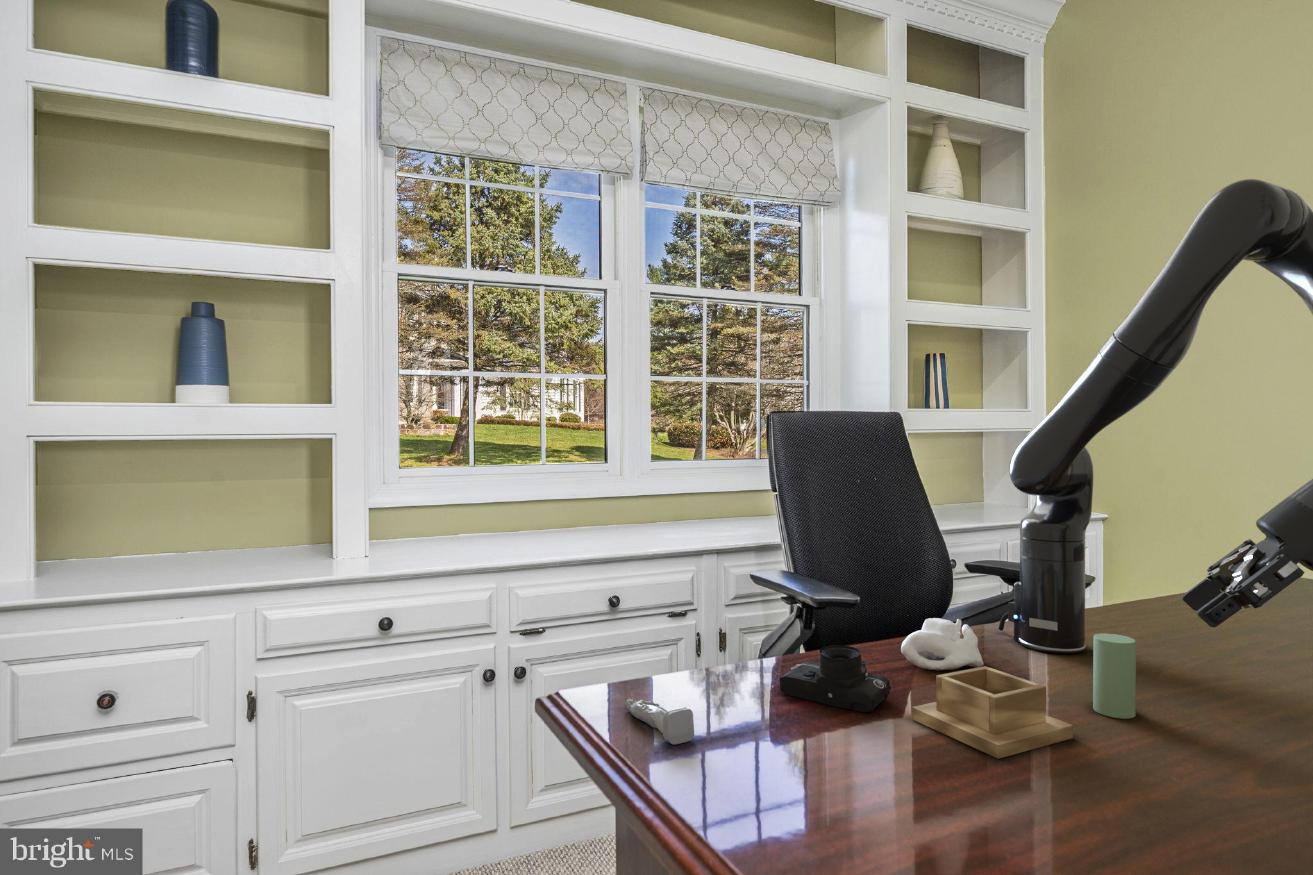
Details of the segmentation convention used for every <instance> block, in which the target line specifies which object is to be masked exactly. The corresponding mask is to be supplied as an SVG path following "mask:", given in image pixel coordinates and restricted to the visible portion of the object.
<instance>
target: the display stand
mask: <svg viewBox="0 0 1313 875" xmlns="http://www.w3.org/2000/svg"><path fill="white" fill-rule="evenodd" d="M935 678H936V679H935V684H936V685H935V701H934V702H933V701H932V702H928V703H924V704H919V705H915V706H912V707H911V720H912V721H915V722H916V723H919V724H921V725H924V726H926V727H928V728H930V729H932V730H934V731H937V732H939V733H941V734H943V735H945V736H948V737H950V738H952V739H954V740H956V741H958V742H960V743H963V744H965V745H967V746H969V747H971V748H973V749H975V750H978V751H980V752H982V753H985V754H987V755H989V756H991V757H993V758H994V759H998V760H999V759H1002V758H1006V757H1010V756H1014V755H1017V754H1021V753H1025V752H1028V751H1032V750H1035V749H1036V750H1037V749H1039V748H1042V747H1046V746H1050V745H1054V744H1057V743H1061V742H1064V741H1068V740H1072V739H1074V725H1073V724H1071V723H1068V722H1065V721H1063V720H1060V719H1057V718H1054V717H1052V716H1049V715H1047V686H1046V685H1043V684H1039V683H1037V682H1034V681H1032V680H1028V679H1025V678H1022V677H1018V676H1016V675H1013V674H1010V673H1007V672H1005V671H1001V670H998V669H995V668H993V667H990V666H986V665H983V666H981V667H972V668H969V669H964V670H958V671H951V672H948V673H943V674H937V675H936V677H935Z"/></svg>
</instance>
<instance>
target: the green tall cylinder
mask: <svg viewBox="0 0 1313 875" xmlns="http://www.w3.org/2000/svg"><path fill="white" fill-rule="evenodd" d="M1092 638H1093V641H1092V642H1093V644H1092V645H1093V646H1092V647H1093V650H1092V651H1093V654H1092V655H1093V656H1092V658H1093V660H1092V662H1093V663H1092V664H1093V666H1092V669H1093V670H1092V671H1093V672H1092V673H1093V674H1092V681H1093V682H1092V709H1093V711H1095V713H1098V714H1099V715H1103V716H1105V717H1108V718H1113V719H1122V720H1124V719H1125V720H1126V719H1127V720H1128V719H1133V718H1135V717H1136V716H1137V714H1136V713H1137V712H1136V709H1137V708H1136V706H1137V704H1136V702H1137V701H1136V699H1137V698H1136V696H1137V694H1136V693H1137V691H1136V689H1137V687H1136V686H1137V683H1136V682H1137V641H1136V639H1134V638H1132V637H1130V636H1125V635H1122V634H1116V633H1106V632H1105V633H1104V632H1103V633H1102V632H1101V633H1095V634H1094V635H1093V637H1092Z"/></svg>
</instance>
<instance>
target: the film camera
mask: <svg viewBox="0 0 1313 875" xmlns="http://www.w3.org/2000/svg"><path fill="white" fill-rule="evenodd" d="M890 682H891V681H890V680H889V679H888V678H887V677H885V676H883V675H880V674H875V673H869V672H868V669H867V667H866V661H865V660H862V652H861V650H860V649H858V648H856V647H853V646H851V645H843V644H832V645H826V646H822V647H821V648H820V649H819V650H818V662H814V661H809V660H807V661H803V662H801V663H800V664H799V663H797V664H796V665H794V666H792V667H791V668H790V670H789V671H787V672H786V673H784V674H783V675H781V676H780V677H779V691H780V692H782V693H783V694H784V695H786V696H789V697H794V698H795V697H796V698H799V699H802V700H806V701H810V702H815V703H820V704H823V705H828V706H833V707H836V708H841V709H844V710H852V711H855V712H856V711H857V712H860V713H870V712H873V711H874V710H875V708H877V706H878V705H879V704H881V702H883V701H884V700H887V699H888V698H889V695H891V690H892V687H891V686H890Z"/></svg>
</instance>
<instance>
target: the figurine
mask: <svg viewBox="0 0 1313 875" xmlns="http://www.w3.org/2000/svg"><path fill="white" fill-rule="evenodd" d="M625 707H626V709H627V710H628V711H630V714H631V715H632V716H633V717H635V718H636V719H637V720H640V721H641V722H643V723H646V725H649V726H650V727H651V728H654V729H657V730H659V732H660V733H662V737H663V739H664V741H665V742H667V743H668V744H671V745H673V746H675V745H679V744H682V743H688V742H690V741H692V740H693V739H694V738H695V724H694V713H693V711H692V709H690V708H688V707H686V706H684V707H679V708H674V709H669V710H666V709H665V708H664V707H663V706H661V705H660V704H659V703H655V702H653V701H648V700H647V701H646V700H644V699H640V700H638V701H635V700H634V699H632V698H628V699H626V700H625Z"/></svg>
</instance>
